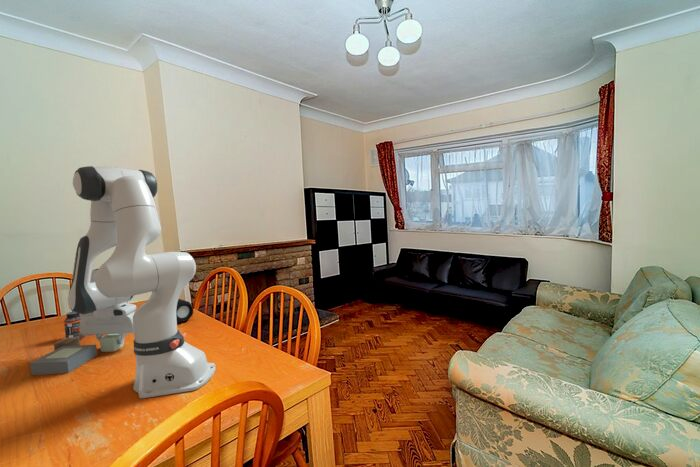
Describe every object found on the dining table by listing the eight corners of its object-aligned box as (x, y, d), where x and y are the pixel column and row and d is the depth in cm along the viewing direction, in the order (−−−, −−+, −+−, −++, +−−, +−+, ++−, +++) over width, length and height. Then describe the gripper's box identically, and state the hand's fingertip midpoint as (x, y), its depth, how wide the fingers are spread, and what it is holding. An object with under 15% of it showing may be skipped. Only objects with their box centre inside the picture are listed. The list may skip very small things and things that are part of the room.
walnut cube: (80, 349, 119) (79, 337, 119) (69, 356, 114) (67, 343, 114) (67, 350, 119) (65, 337, 118) (55, 356, 114) (53, 343, 114)
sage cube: (124, 345, 121) (122, 332, 121) (114, 351, 116) (113, 338, 116) (111, 345, 121) (109, 333, 121) (101, 351, 116) (99, 339, 116)
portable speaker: (196, 319, 147) (194, 299, 146) (174, 326, 139) (172, 305, 138) (171, 310, 162) (169, 291, 161) (150, 316, 154) (147, 296, 153)
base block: (97, 355, 114) (95, 344, 113) (68, 372, 102) (67, 360, 102) (63, 356, 114) (62, 345, 113) (31, 374, 102) (29, 362, 101)
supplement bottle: (74, 342, 126) (70, 315, 125) (62, 341, 127) (58, 314, 126) (89, 336, 132) (85, 310, 130) (77, 335, 133) (74, 309, 132)
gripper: (72, 313, 114) (77, 349, 115) (129, 310, 114) (133, 346, 116) (86, 307, 120) (91, 341, 122) (140, 305, 121) (144, 339, 122)
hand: (112, 344), depth 119 cm, fingers closed on sage cube, 5 cm apart
